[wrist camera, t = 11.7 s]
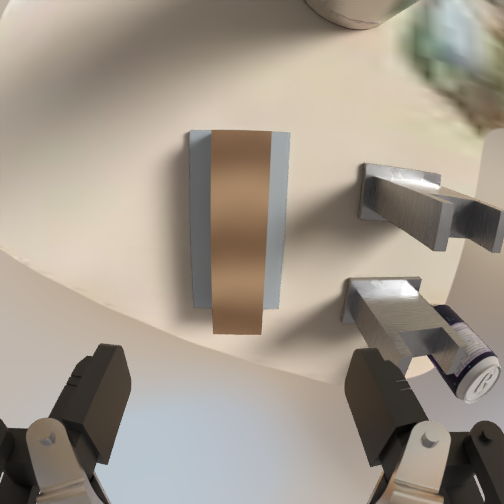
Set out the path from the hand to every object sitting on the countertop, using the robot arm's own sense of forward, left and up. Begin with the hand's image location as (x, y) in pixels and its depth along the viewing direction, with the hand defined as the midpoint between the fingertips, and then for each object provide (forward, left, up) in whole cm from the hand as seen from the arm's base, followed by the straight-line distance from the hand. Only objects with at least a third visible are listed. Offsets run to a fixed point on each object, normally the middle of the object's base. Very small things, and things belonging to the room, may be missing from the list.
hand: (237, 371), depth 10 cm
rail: (0, 0, -17) cm, 17 cm away
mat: (0, 0, -18) cm, 18 cm away
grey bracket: (+8, +15, -18) cm, 25 cm away
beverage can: (+11, +23, -18) cm, 31 cm away
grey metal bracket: (-3, +15, -18) cm, 24 cm away
